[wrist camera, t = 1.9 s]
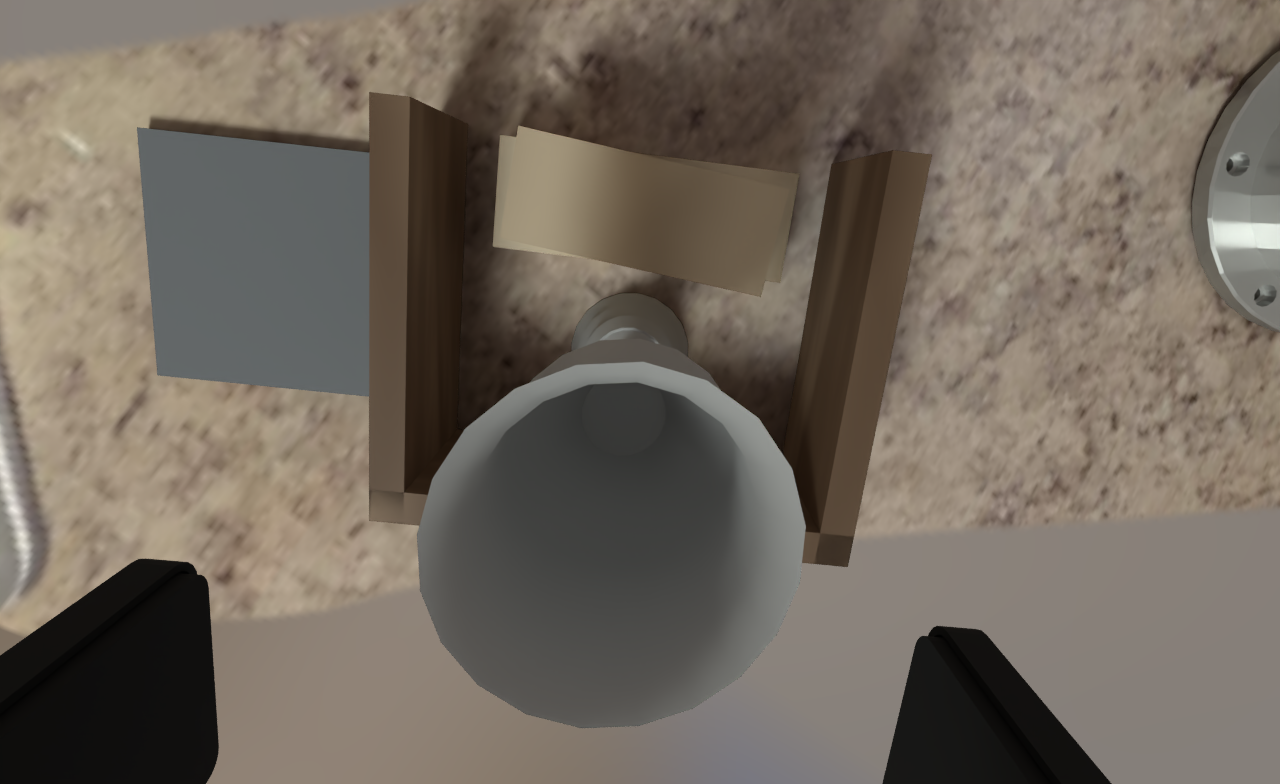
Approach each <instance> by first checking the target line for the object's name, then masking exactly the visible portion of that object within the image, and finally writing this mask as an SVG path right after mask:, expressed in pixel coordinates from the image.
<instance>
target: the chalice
mask: <svg viewBox="0 0 1280 784" xmlns="http://www.w3.org/2000/svg"><path fill="white" fill-rule="evenodd" d="M571 344H572V351H571V352H568V353H566V354H563V355H562V356H560V357H559V358H558V359H557V360H555V361H554V362H553V363H552V364H550V365H549V366H548V367H547V368H545V369H544V370H543V371H542V372H540V373H539V374H538V375H537V376H535V377H534V378H533V379H532V380H531V382H530V383H528V384H525V385H523V386H520V387H518V388H515V389H514V390H513V391H511V392H510V393H509V394H508V395H506V396H505V397H504V398H503V399H501V400H500V401H499V402H498V403H496V404H495V405H494V406H493V407H491V408H490V409H489V410H488V411H486V412H485V413H484V414H483V415H482V416H480V417H479V418H478V419H477V420H475V421H474V422H473V423H472V424H470V425H469V426H468V427H467V428H465V430H464V431H463V433H462V435H461V436H460V438H459V439H458V441H457V442H456V444H455V445H454V447H453V448H452V450H451V451H450V453H449V454H448V456H447V457H446V459H445V460H444V462H443V463H442V465H441V466H440V468H439V470H438V471H437V473H436V474H435V476H434V477H433V479H432V482H431V486H430V489H429V493H428V497H427V500H426V504H425V508H424V511H423V515H422V519H421V522H420V526H419V530H418V533H417V543H418V560H419V577H420V592H421V594H422V597H423V599H424V601H425V604H426V606H427V609H428V611H429V614H430V616H431V619H432V621H433V623H434V626H435V628H436V631H437V633H438V635H439V638H440V641H441V643H442V644H443V645H444V646H445V648H446V649H447V650H448V651H449V652H450V653H451V654H452V656H453V657H454V658H455V659H456V660H457V661H458V662H459V664H460V665H461V666H462V667H463V668H464V670H465V671H466V672H467V673H468V674H469V675H470V676H471V677H472V679H473V680H474V681H475V682H476V683H477V685H479V686H480V687H482V688H484V689H485V690H487V691H489V692H490V693H492V694H494V695H495V696H497V697H499V698H500V699H502V700H504V701H505V702H507V703H508V704H510V705H512V706H514V707H515V708H517V709H518V710H520V711H522V712H523V713H525V714H528V715H531V716H536V717H539V718H544V719H547V720H551V721H555V722H559V723H563V724H567V725H571V726H575V727H579V728H597V727H625V726H640V725H643V724H646V723H650V722H653V721H656V720H658V719H662V718H665V717H668V716H671V715H674V714H677V713H681V712H684V711H686V710H690V709H693V708H694V707H696V706H698V705H699V704H700V703H702V702H703V701H705V700H707V699H708V698H709V697H711V696H713V695H714V694H716V693H717V692H719V691H720V690H721V689H723V688H725V687H726V686H728V685H729V684H731V683H732V682H734V681H735V680H737V679H738V678H740V677H741V676H742V675H743V674H744V672H745V671H746V670H747V669H748V668H749V667H750V665H751V664H752V663H753V662H754V661H755V659H756V658H757V657H758V656H759V655H760V654H761V652H762V651H763V650H764V649H765V648H766V646H767V645H768V644H769V643H770V642H771V641H772V640H773V638H774V637H775V636H776V635H777V633H778V631H779V628H780V626H781V624H782V622H783V620H784V617H785V615H786V613H787V611H788V608H789V606H790V604H791V602H792V599H793V597H794V595H795V593H796V590H797V588H798V586H799V583H800V576H801V566H802V557H803V548H804V538H805V529H806V525H805V521H804V517H803V512H802V508H801V504H800V500H799V495H798V491H797V487H796V483H795V478H794V474H793V470H792V468H791V466H790V465H789V463H788V462H787V460H786V459H785V457H784V456H783V454H782V453H781V451H780V450H779V448H778V447H777V445H776V444H775V442H774V441H773V439H772V438H771V436H770V435H769V433H768V432H767V430H766V429H765V427H764V425H763V424H762V422H761V421H760V419H759V418H758V417H756V416H755V415H754V414H752V413H751V412H750V411H748V410H747V409H745V408H744V407H743V406H741V405H740V404H739V403H737V402H736V401H735V400H733V399H732V398H730V397H729V396H728V395H726V394H725V393H724V392H722V391H721V390H720V388H719V387H718V385H717V384H716V382H715V381H714V379H713V378H712V376H711V375H710V373H709V372H707V371H706V370H705V369H703V368H702V367H701V366H699V365H698V364H696V363H695V362H694V361H692V360H691V359H690V358H688V341H687V338H686V335H685V332H684V329H683V325H682V324H681V322H680V321H679V319H678V318H677V317H676V315H675V314H674V313H673V311H672V310H671V309H670V308H668V307H667V306H665V305H664V304H663V303H661V302H660V301H659V300H657V299H655V298H652V297H649V296H645V295H642V294H639V293H622V294H617V295H614V296H611V297H608V298H605V299H602V300H601V301H599V302H598V303H597V304H595V305H594V306H593V307H592V308H590V309H589V310H588V311H587V312H586V313H585V315H584V316H583V317H582V319H581V320H580V322H579V323H578V325H577V326H576V330H575V333H574V337H573V340H572V343H571Z"/></svg>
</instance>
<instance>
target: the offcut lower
mask: <svg viewBox="0 0 1280 784" xmlns="http://www.w3.org/2000/svg"><path fill="white" fill-rule="evenodd" d="M515 142H516V137H512V136H504V135H500V143H499V159H498V174H497V189H496V205H495V220H494V236H493V247H499V248H507V249H515V250H523V251H531V252H539V253H547V254H555V255H563V256H571V257H579V258H586V257H581V256H577V255H573V254H568V253H564V252H559V251H555V250H550V249H546V248H542V247H537V246H533V245H528V244H524V243H519V242H515V241H510V240H506V239H502V238H500V233H501V227H502V221H503V215H504V209H505V203H506V197H507V191H508V185H509V179H510V173H511V167H512V161H513V155H514V149H515ZM633 153H635V152H633ZM637 154H641V155H646V156H650V157H654V158H658V159H663V160H667V161H671V162H676V163H680V164H684V165H688V166H693V167H697V168H701V169H705V170H710V171H714V172H718V173H722V174H727V175H731V176H735V177H739V178H744V179H748V180H752V181H756V182H761V183H765V184H769V185H774V186H778V187H782V188H786V189H789V193H788V197H787V201H786V204H785V208H784V212H783V216H782V219H781V223H780V227H779V230H778V234H777V238H776V242H775V245H774V249H773V253H772V257H771V260H770V264H769V268H768V272H767V275H766V279H765V281H770V282H778V283H780V281H781V275H782V270H783V264H784V258H785V253H786V247H787V241H788V236H789V230H790V224H791V219H792V213H793V207H794V202H795V196H796V190H797V185H798V179H799V174H797V173H789V172H782V171H774V170H766V169H759V168H751V167H743V166H736V165H728V164H720V163H712V162H705V161H697V160H689V159H682V158H674V157H666V156H659V155H651V154H643V153H637ZM587 259H590V258H587ZM594 260H595V259H594Z"/></svg>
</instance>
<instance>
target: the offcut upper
mask: <svg viewBox="0 0 1280 784" xmlns="http://www.w3.org/2000/svg"><path fill="white" fill-rule="evenodd" d="M788 193H789V189H786V188H782V187H778V186H774V185H769V184H765V183H761V182H756V181H752V180H748V179H744V178H739V177H735V176H731V175H727V174H722V173H718V172H714V171H710V170H705V169H701V168H697V167H693V166H688V165H684V164H680V163H676V162H671V161H667V160H663V159H658V158H654V157H650V156H646V155H641V154H637V153H633V152H629V151H624V150H620V149H616V148H612V147H607V146H603V145H599V144H595V143H590V142H586V141H582V140H578V139H573V138H569V137H565V136H560V135H556V134H552V133H548V132H543V131H539V130H535V129H531V128H526V127H522V126H518V130H517V136H516V142H515V149H514V155H513V161H512V167H511V173H510V179H509V185H508V191H507V197H506V203H505V209H504V215H503V221H502V227H501V233H500V238H502V239H506V240H510V241H515V242H519V243H524V244H528V245H533V246H537V247H542V248H546V249H550V250H555V251H559V252H564V253H568V254H573V255H577V256H581V257H586V258H590V259H595V260H599V261H604V262H608V263H613V264H617V265H621V266H626V267H630V268H635V269H639V270H644V271H648V272H652V273H657V274H661V275H666V276H670V277H675V278H679V279H683V280H688V281H692V282H697V283H701V284H706V285H710V286H715V287H719V288H723V289H728V290H732V291H737V292H741V293H746V294H750V295H754V296H759V297H761V294H762V290H763V286H764V283H765V279H766V275H767V272H768V268H769V264H770V260H771V257H772V253H773V249H774V245H775V242H776V238H777V234H778V230H779V227H780V223H781V219H782V216H783V212H784V208H785V204H786V201H787V197H788Z"/></svg>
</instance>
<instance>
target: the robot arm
mask: <svg viewBox="0 0 1280 784" xmlns="http://www.w3.org/2000/svg"><path fill="white" fill-rule="evenodd" d="M1192 228H1193V236H1194V241H1195V245H1196V249H1197V254H1198V258H1199V261H1200V263H1201V265H1202V267H1203V269H1204V272H1205V274H1206V276H1207V278H1208V280H1209V282H1210V284H1211V285H1212V286H1213V288H1214V289H1215V290H1216V291H1217V293H1218V294H1219V295H1220V296H1221V298H1222V299H1223V300H1224V301H1225V302H1226V304H1227V305H1229V306H1230V307H1231V308H1233V309H1234V310H1235V311H1236V312H1238V313H1239V314H1240V315H1242V316H1243V317H1244V318H1246V319H1247V320H1249V321H1251V322H1253V323H1256V324H1258V325H1260V326H1262V327H1265V328H1267V329H1269V330H1271V331H1276V332H1280V50H1279V51H1278V52H1276V53H1275V54H1273V55H1272V56H1271V57H1270V58H1269V59H1268V60H1267V61H1266V62H1265V63H1264V64H1263V65H1262V66H1261V67H1260V68H1259V69H1258V70H1257V71H1256V72H1255V73H1254V74H1253V75H1252V76H1251V77H1250V78H1249V79H1248V80H1247V81H1246V82H1245V83H1244V85H1243V86H1242V87H1241V88H1240V90H1239V91H1238V92H1237V94H1236V95H1235V96H1234V98H1233V99H1232V100H1231V102H1230V103H1229V104H1228V106H1227V107H1226V108H1225V110H1224V112H1223V113H1222V115H1221V117H1220V119H1219V121H1218V123H1217V125H1216V126H1215V128H1214V130H1213V132H1212V134H1211V136H1210V137H1209V139H1208V142H1207V145H1206V148H1205V150H1204V153H1203V156H1202V159H1201V162H1200V165H1199V168H1198V170H1197V175H1196V181H1195V187H1194V193H1193V199H1192ZM218 748H219V745H218V729H217V713H216V698H215V682H214V666H213V650H212V635H211V619H210V603H209V588H208V582H207V580H206V578H205V577H204V576H202V575H197V571H196V569H195V568H194V566H193V565H192V564H190V563H188V562H179V561H167V560H155V559H138V560H136V561H134V562H132V563H130V564H129V565H128V566H126V567H125V568H123V569H122V570H121V571H119V572H118V573H116V574H115V575H114V576H112V577H111V578H109V579H108V580H106V581H105V582H104V583H102V584H101V585H99V586H98V587H97V588H95V589H94V590H92V591H91V592H89V593H88V594H87V595H85V596H84V597H82V598H81V599H80V600H78V601H77V602H75V603H74V604H72V605H71V606H70V607H68V608H67V609H65V610H64V611H63V612H61V613H60V614H58V615H57V616H56V617H54V618H53V619H51V620H50V621H48V622H47V623H46V624H44V625H43V626H41V627H40V628H39V629H37V630H36V631H34V632H33V633H31V634H30V635H29V636H27V637H26V638H24V639H23V640H22V641H20V642H19V643H17V644H16V645H15V646H13V647H12V648H10V649H9V650H7V651H6V652H5V653H3V654H2V655H0V784H206V783H207V781H208V779H209V778H210V776H211V774H212V772H213V770H214V767H215V764H216V761H217V757H218ZM883 784H1111V783H1110V781H1109V780H1108V779H1107V778H1106V777H1105V776H1104V774H1103V773H1102V772H1101V771H1100V769H1099V768H1098V767H1097V766H1096V765H1095V764H1094V762H1093V761H1092V760H1091V759H1090V758H1089V756H1088V755H1087V754H1086V753H1085V752H1084V750H1083V749H1082V748H1081V747H1080V746H1079V744H1077V742H1076V741H1075V740H1074V739H1073V737H1072V736H1071V735H1070V734H1069V733H1068V731H1067V730H1066V729H1065V728H1064V727H1063V726H1062V724H1061V723H1060V722H1059V721H1058V720H1057V718H1056V717H1055V716H1054V715H1053V714H1052V712H1051V711H1050V710H1049V709H1048V708H1047V706H1046V705H1045V704H1044V703H1043V702H1042V700H1041V699H1040V698H1039V697H1038V696H1037V694H1036V693H1035V692H1034V691H1033V690H1032V688H1031V687H1030V686H1029V685H1028V684H1027V683H1026V681H1025V680H1024V679H1023V678H1022V677H1021V675H1020V674H1019V673H1018V672H1017V671H1016V669H1015V668H1014V667H1013V666H1012V665H1011V663H1010V662H1009V661H1008V660H1007V659H1006V658H1005V656H1004V655H1003V654H1002V653H1001V652H1000V650H999V649H998V648H997V647H996V646H995V644H994V643H993V642H992V641H991V640H990V638H989V637H988V636H987V635H986V634H985V633H984V632H982V631H981V630H977V629H967V628H956V627H955V628H954V627H943V626H936V627H934V628H933V629H932V630H931V631H930V633H929V635H928V636H922V637H920V638H919V639H918V640H917V642H916V645H915V649H914V653H913V657H912V662H911V666H910V670H909V675H908V678H907V683H906V687H905V691H904V695H903V700H902V704H901V708H900V712H899V716H898V721H897V725H896V729H895V734H894V738H893V742H892V746H891V750H890V754H889V759H888V763H887V767H886V771H885V775H884V780H883Z"/></svg>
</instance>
